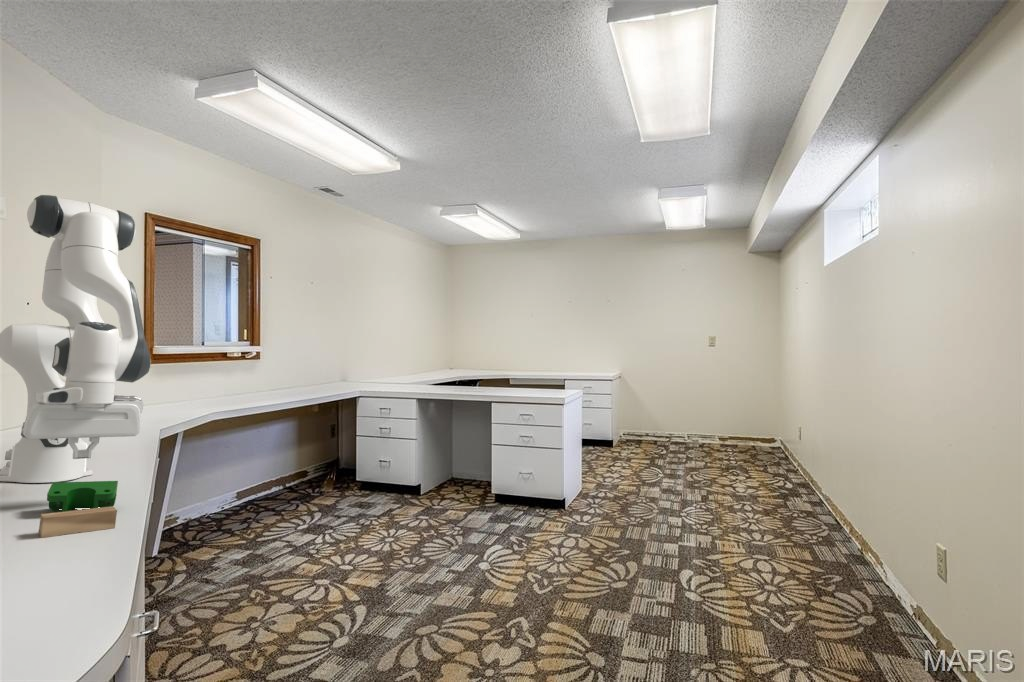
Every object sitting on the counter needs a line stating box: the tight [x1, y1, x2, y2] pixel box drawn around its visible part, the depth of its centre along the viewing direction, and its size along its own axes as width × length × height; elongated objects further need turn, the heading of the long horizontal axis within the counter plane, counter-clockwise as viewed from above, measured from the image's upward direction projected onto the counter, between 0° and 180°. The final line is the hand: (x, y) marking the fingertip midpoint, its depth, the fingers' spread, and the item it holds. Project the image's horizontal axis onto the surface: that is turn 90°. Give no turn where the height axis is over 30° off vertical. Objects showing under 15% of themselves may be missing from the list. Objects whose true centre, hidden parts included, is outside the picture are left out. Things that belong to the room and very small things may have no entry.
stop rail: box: [38, 506, 118, 539], centre depth 102 cm, size 3×11×4 cm, turn 140°
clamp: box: [46, 480, 119, 512], centre depth 113 cm, size 12×6×9 cm, turn 116°
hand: (81, 458), depth 117 cm, fingers closed
